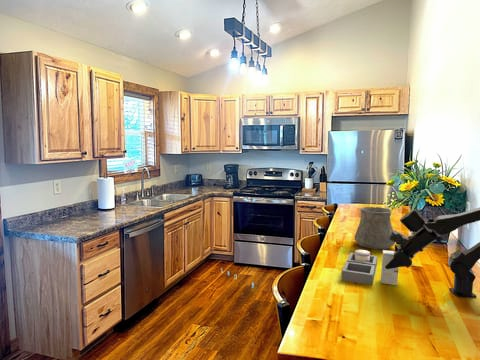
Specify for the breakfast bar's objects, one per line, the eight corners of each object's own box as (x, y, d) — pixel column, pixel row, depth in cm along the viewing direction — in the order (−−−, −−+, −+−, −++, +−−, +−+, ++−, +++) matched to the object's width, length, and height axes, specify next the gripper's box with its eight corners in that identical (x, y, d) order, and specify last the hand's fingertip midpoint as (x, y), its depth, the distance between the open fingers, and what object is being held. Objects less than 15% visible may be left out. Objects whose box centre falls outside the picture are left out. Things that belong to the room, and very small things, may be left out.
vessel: (375, 239, 200) (377, 203, 197) (405, 250, 179) (407, 211, 176) (342, 242, 193) (343, 206, 191) (368, 255, 172) (370, 214, 170)
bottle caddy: (376, 264, 159) (377, 250, 158) (372, 285, 137) (373, 268, 136) (350, 261, 163) (350, 246, 163) (341, 280, 141) (342, 263, 140)
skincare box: (380, 283, 138) (382, 253, 137) (380, 279, 143) (382, 249, 141) (398, 285, 136) (399, 254, 135) (397, 281, 140) (399, 251, 139)
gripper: (403, 219, 143) (373, 243, 149) (403, 230, 127) (369, 256, 132) (424, 241, 141) (392, 264, 147) (427, 254, 124) (391, 280, 130)
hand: (386, 265), depth 139 cm, fingers open, 6 cm apart
